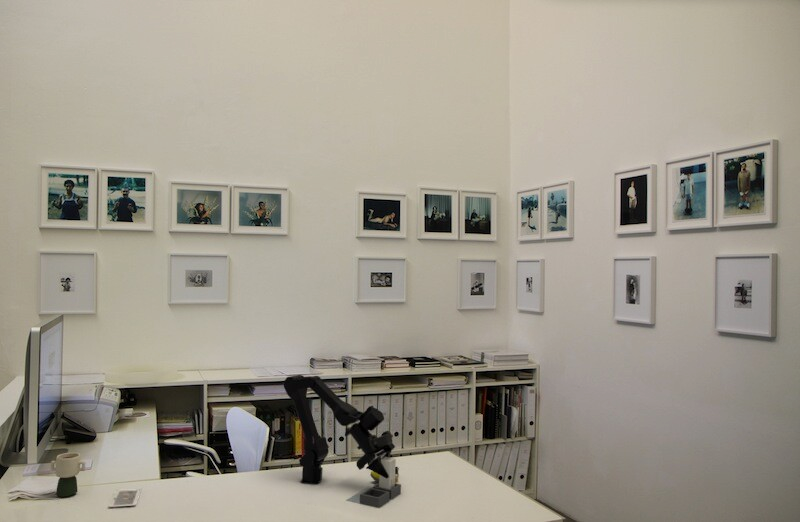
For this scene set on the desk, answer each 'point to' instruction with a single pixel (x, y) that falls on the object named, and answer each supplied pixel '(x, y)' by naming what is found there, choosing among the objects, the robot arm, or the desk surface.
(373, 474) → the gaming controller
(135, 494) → the touchpad
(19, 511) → the desk surface
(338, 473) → the desk surface
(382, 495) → the board
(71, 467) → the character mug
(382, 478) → the plug
